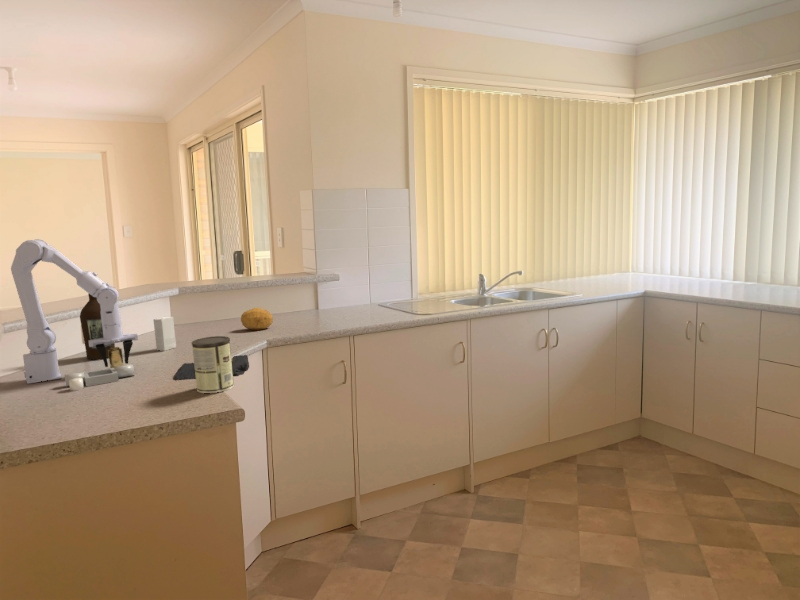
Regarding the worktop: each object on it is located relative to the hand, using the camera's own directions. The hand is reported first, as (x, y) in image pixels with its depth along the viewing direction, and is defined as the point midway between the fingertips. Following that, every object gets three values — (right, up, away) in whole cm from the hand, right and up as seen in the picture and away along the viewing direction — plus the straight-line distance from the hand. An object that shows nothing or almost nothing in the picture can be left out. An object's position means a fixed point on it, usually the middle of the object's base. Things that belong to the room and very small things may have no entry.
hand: (116, 364), depth 199 cm
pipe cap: (-2, -5, -20) cm, 21 cm away
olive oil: (-16, 0, +22) cm, 27 cm away
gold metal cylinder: (0, -2, 0) cm, 2 cm away
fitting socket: (+1, -4, -12) cm, 13 cm away
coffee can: (+41, -4, -27) cm, 49 cm away
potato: (+32, +8, +62) cm, 70 cm away
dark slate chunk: (+34, -2, -8) cm, 35 cm away
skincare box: (+5, +2, +30) cm, 31 cm away
